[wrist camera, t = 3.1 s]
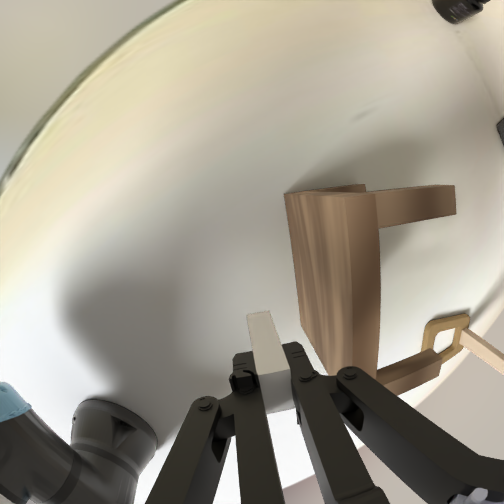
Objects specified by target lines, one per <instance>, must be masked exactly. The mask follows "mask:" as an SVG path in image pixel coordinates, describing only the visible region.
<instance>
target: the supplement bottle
mask: <svg viewBox="0 0 504 504" xmlns="http://www.w3.org/2000/svg"><path fill="white" fill-rule="evenodd" d="M489 1H490V0H432V3H433V5H434V7H435V9H436V10H437V12H438V13H439V14H440V15H441V16H442V17H443V18H444V19H445V20H447V21H448V22H450V23H452V24H458V23H460V22H462V21H464V20H466V19H468V18H469V17H471V16H473V15H475V14H477V13H479V12H481V11H482V10H483V4H486V3H487V2H489Z"/></svg>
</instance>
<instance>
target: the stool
mask: <svg viewBox="0 0 504 504" xmlns="http://www.w3.org/2000/svg"><path fill="white" fill-rule="evenodd" d="M284 198H285V205H286V211H287V218H288V225H289V232H290V239H291V246H292V254H293V261H294V269H295V277H296V285H297V293H298V302H299V311H300V320H301V326H302V328H303V330H304V332H305V333H306V335H307V337H308V339H309V341H310V343H311V344H312V346H313V348H314V350H315V352H316V353H317V355H318V357H319V359H320V361H321V363H322V364H323V366H324V368H325V370H326V372H327V373H328V375H329V376H333V375H337V372H338V371H339V370H340V369H342V368H344V367H347V366H355V367H359V368H361V369H362V370H363V371H365V372H366V373H367V374H369V375H370V376H371V377H372V378H374V379H375V380H376V381H378V382H379V383H380V384H382V385H383V386H384V387H386V388H387V389H388V390H390V391H391V392H392V393H394V394H395V395H396V396H398V395H400V394H402V393H405V392H407V391H409V390H411V389H413V388H415V387H418V386H420V385H422V384H424V383H426V382H428V381H430V380H432V379H434V378H436V377H437V376H439V373H440V369H441V365H442V360H443V358H442V357H441V356H439V355H438V354H437V353H436V352H435V351H434V350H432V349H431V348H429V349H427V350H425V351H422V352H420V353H418V354H416V355H413V356H411V357H409V358H406V359H404V360H401V361H399V362H396V363H394V364H391V365H389V366H386V367H383V368H381V369H378V370H377V362H378V350H379V334H380V305H381V276H380V247H379V231H378V229H379V228H384V227H390V226H395V225H401V224H406V223H412V222H417V221H423V220H428V219H433V218H439V217H444V216H450V215H455V214H456V198H455V186H454V185H428V186H417V187H407V188H397V189H388V190H379V191H371V192H366V187H365V184H356V185H348V186H339V187H331V188H323V189H316V190H308V191H301V192H294V193H288V194H284Z"/></svg>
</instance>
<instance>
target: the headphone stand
mask: <svg viewBox="0 0 504 504" xmlns="http://www.w3.org/2000/svg"><path fill="white" fill-rule="evenodd" d="M469 322H470V317H469V316H468V315H467V314H460V315H455V316H451V317H446V318H442V319H437V320H432V321H430V322H429V323H428V324H427V325H426V327H425V330H424V336H423V342H422V348H421V352H422V351H425V350H427V349H429V348H431V349H432V350H433V345H434V340H435V336H436V335H437V333H439V332H440V331H444V330H448V329H452V328H455V334H454V338H453V343H452V345H451V346H450V347H449V348H448V349H446V350H445V351H443V352H442V353H440V354H438V355H439V356H441V357H442V358H443V360H442V364H443V363H444V362H446V361H447V360H449V359H450V358H452V357H453V356H455V355H456V354H457V353H459V352H460V351H461V350H462V349H463V347H465V348H467V349H468V350H470V351H471V352H472V353H474V354H475V355H477V356H478V357H479V358H481V359H482V360H484V361H485V362H486V363H488V364H489V365H491V366H492V367H493V368H495V369H496V370H497V371H499V372H500V373H501V374H503V375H504V354H503V353H501V352H500V351H499V350H497V349H496V348H494V347H493V346H492V345H490V344H489V343H488V342H486V341H485V340H483V339H482V338H481V337H479V336H478V335H476V334H475V333H474V332H472V331H471V330H469V329H468V326H469Z"/></svg>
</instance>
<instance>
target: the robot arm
mask: <svg viewBox="0 0 504 504" xmlns="http://www.w3.org/2000/svg"><path fill="white" fill-rule="evenodd" d="M247 320H248V326H249V332H250V338H251V343H252V349H253V351H250V352H244V353H238V354H236V355H235V356H234V358H233V373H232V374H231V375H230V377H229V381H230V384H231V388H232V391H233V392H232V393H231V394H230V395H228V396H227V397H225V398H223V399H220V400H217V399H216V398H214V397H210V396H206V397H201V398H198V399H197V400H195V401H194V402H193V404H192V405H191V407H190V410H189V412H188V414H187V416H186V418H185V420H184V422H183V425H182V427H181V429H180V431H179V433H178V435H177V437H176V439H175V442H174V444H173V446H172V448H171V450H170V452H169V454H168V456H167V458H166V461H165V463H164V465H163V467H162V469H161V471H160V473H159V475H158V477H157V479H156V482H155V484H154V486H153V488H152V490H151V492H150V494H149V496H148V498H147V500H146V502H145V504H213V500H214V497H215V494H216V490H217V487H218V484H219V480H220V477H221V473H222V470H223V466H224V463H225V459H226V456H227V452H228V449H229V445H230V442H231V437H232V436H236V449H237V462H238V474H239V486H240V496H241V504H285V501H284V496H283V491H282V487H281V482H280V477H279V473H278V468H277V463H276V459H275V454H274V449H273V444H272V439H271V435H270V430H269V425H268V420H267V415H266V414H270V413H275V412H280V411H285V410H289V409H294V408H296V414H297V424H299V425H300V428H301V431H302V434H303V437H304V440H305V443H306V446H307V450H308V453H309V456H310V459H311V462H312V465H313V468H314V471H315V474H316V477H317V481H318V484H319V487H320V490H321V493H322V496H323V499H324V502H325V504H390V503H389V501H388V499H387V497H386V495H385V493H384V491H383V490H382V489H381V488H380V487H377V486H375V485H374V483H373V481H372V479H371V477H370V475H369V473H368V471H367V469H366V467H365V465H364V463H363V461H362V459H361V457H360V455H359V453H358V451H357V449H356V447H355V445H354V442H353V440H352V438H351V436H350V434H349V432H348V430H347V428H346V426H345V424H346V425H347V426H348V428H349V429H350V430H351V431H352V432H353V433H354V434H355V435H356V436H357V437H358V438H359V439H360V440H361V441H362V442H363V443H364V444H365V445H366V446H367V447H368V448H369V449H370V450H371V451H372V452H373V453H374V454H375V455H376V456H377V457H378V458H379V459H380V460H381V461H382V462H383V463H385V465H386V466H387V467H388V468H390V469H391V470H392V471H393V472H394V473H395V474H396V475H397V476H398V477H399V478H400V479H401V480H402V481H403V482H404V483H405V484H406V485H407V486H409V487H410V488H411V489H412V490H413V491H414V492H415V493H416V494H418V496H420V497H421V498H422V499H423V500H424V501H425V502H427V503H428V504H504V460H500V459H494V458H490V457H485V456H481V455H478V454H477V453H475V452H474V451H472V450H471V449H469V448H468V447H467V446H465V445H464V444H462V443H461V442H459V441H458V440H457V439H455V438H454V437H452V436H451V435H450V434H448V433H447V432H445V431H444V430H443V429H441V428H440V427H438V426H437V425H436V424H434V423H433V422H432V421H430V420H429V419H427V418H426V417H424V416H423V415H422V414H421V413H419V412H418V411H416V410H415V409H414V408H412V407H411V406H410V405H408V404H407V403H406V402H404V401H403V400H402V399H400V398H399V397H398V396H396V395H395V394H394V393H392V392H391V391H390V390H388V389H387V388H386V387H384V386H383V385H382V384H380V383H379V382H378V381H376V380H375V379H374V378H372V377H371V376H370V375H369V374H367V373H366V372H365V371H363V370H362V369H361V368H359V367H355V366H347V367H344V368H342V369H340V370H339V371H338V372H337V375H333V376H325V375H320V374H319V373H318V372H317V371H316V370H314V369H313V367H312V365H311V363H310V361H309V359H308V356H307V355H306V352H305V351H304V348H303V346H302V345H301V344H299V343H298V342H291V343H287V344H282V345H281V342H280V340H279V337H278V334H277V331H276V329H275V326H274V323H273V320H272V317H271V315H270V312H269V311H264V312H259V313H253V314H248V315H247ZM294 405H295V406H294ZM31 407H32V406H31V405H30V404H29V403H27V402H26V401H25V400H24V399H23V398H22V397H21V396H20V395H19V394H18V393H17V391H16V390H15V389H14V388H13V387H12V386H11V385H10V384H8V383H6V382H0V504H26V503H27V501H28V500H29V499H30V500H32V501H33V502H35V503H36V504H134V498H135V493H136V488H137V483H138V478H139V475H140V474H141V472H142V471H143V470H144V468H145V467H146V466H147V464H148V463H149V461H150V460H151V459H152V458H153V456H154V454H155V451H156V446H157V438H156V435H155V433H154V431H153V430H152V428H151V427H150V426H149V425H148V424H147V423H146V422H145V421H144V420H143V419H141V418H140V417H139V416H137V415H136V414H134V413H133V412H131V411H129V410H127V409H126V408H123V407H121V406H119V405H116V404H114V403H111V402H107V401H102V400H87V401H84V402H82V403H81V404H79V406H78V407H77V409H76V411H75V413H74V415H73V419H72V424H73V425H72V431H71V444H70V446H69V445H68V444H67V443H66V442H65V441H64V440H63V439H61V438H60V437H59V436H58V435H57V434H56V433H55V432H54V431H53V430H52V429H51V428H50V427H49V426H48V425H47V424H46V423H45V422H44V421H43V420H42V419H41V418H40V417H39V416H38V415H37V414H36V413H35V412H34V411H33V409H32V408H31ZM344 423H345V424H344Z"/></svg>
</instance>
